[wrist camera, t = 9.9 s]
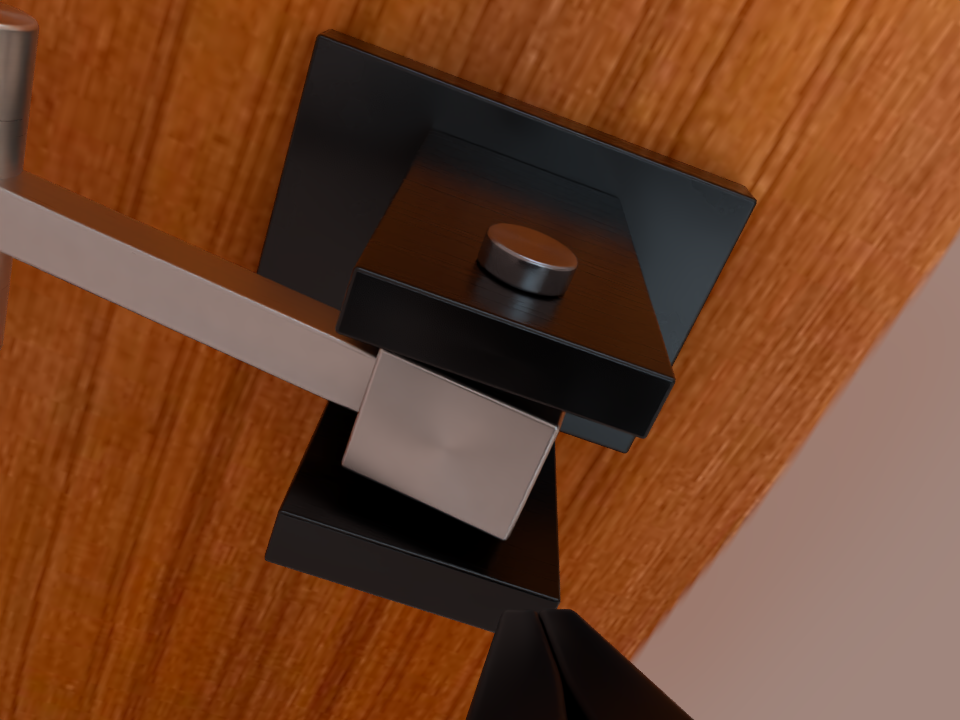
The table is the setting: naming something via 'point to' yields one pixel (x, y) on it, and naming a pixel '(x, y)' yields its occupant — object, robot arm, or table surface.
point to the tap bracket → (479, 300)
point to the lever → (272, 332)
